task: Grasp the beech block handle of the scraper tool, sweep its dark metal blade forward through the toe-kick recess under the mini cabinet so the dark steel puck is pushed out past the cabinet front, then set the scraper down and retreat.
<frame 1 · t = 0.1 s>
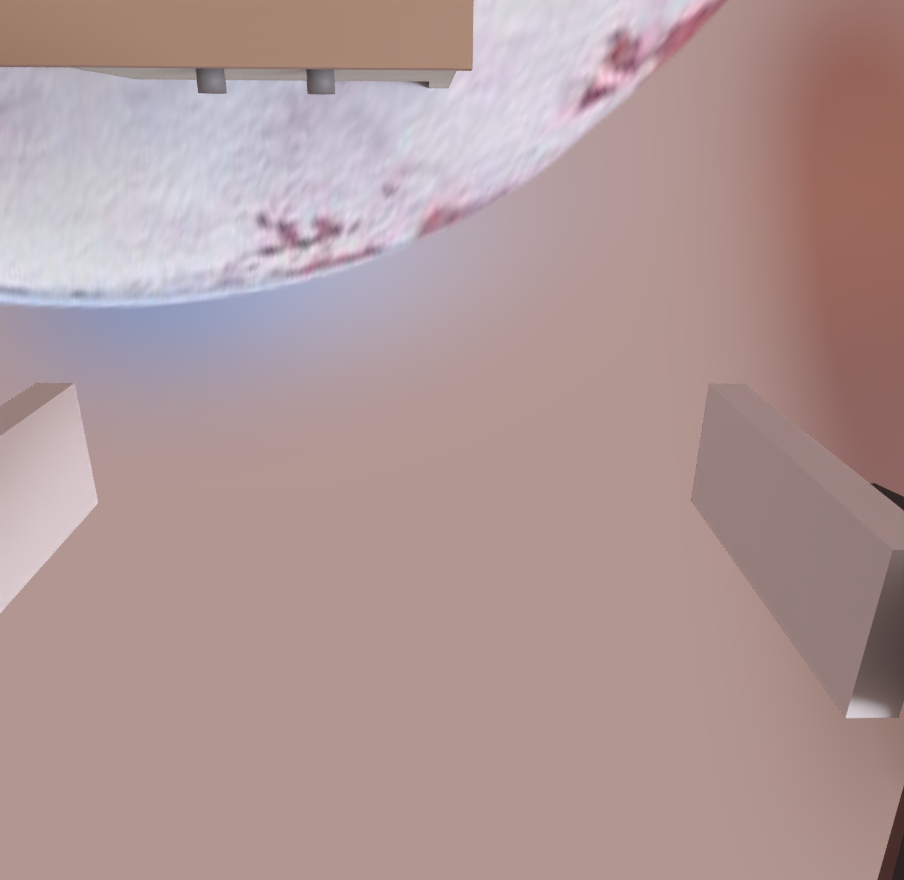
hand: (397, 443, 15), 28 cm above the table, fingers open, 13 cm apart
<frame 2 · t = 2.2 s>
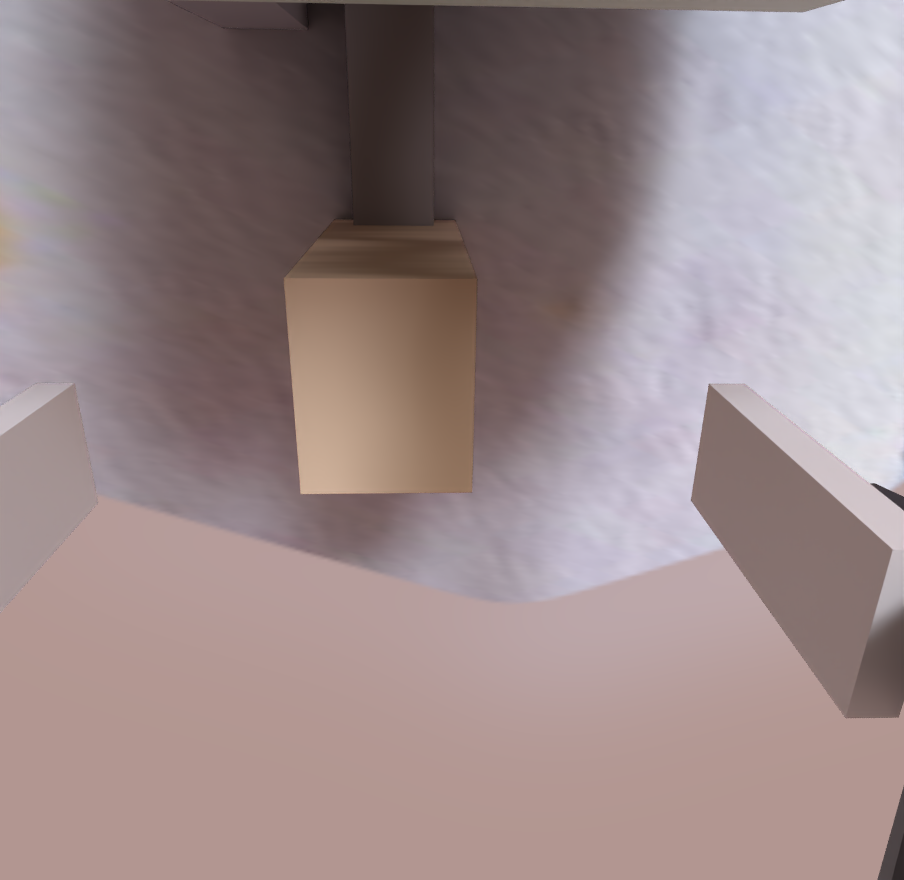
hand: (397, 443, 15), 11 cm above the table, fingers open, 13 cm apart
scraper tool: (396, 294, 25), on the table
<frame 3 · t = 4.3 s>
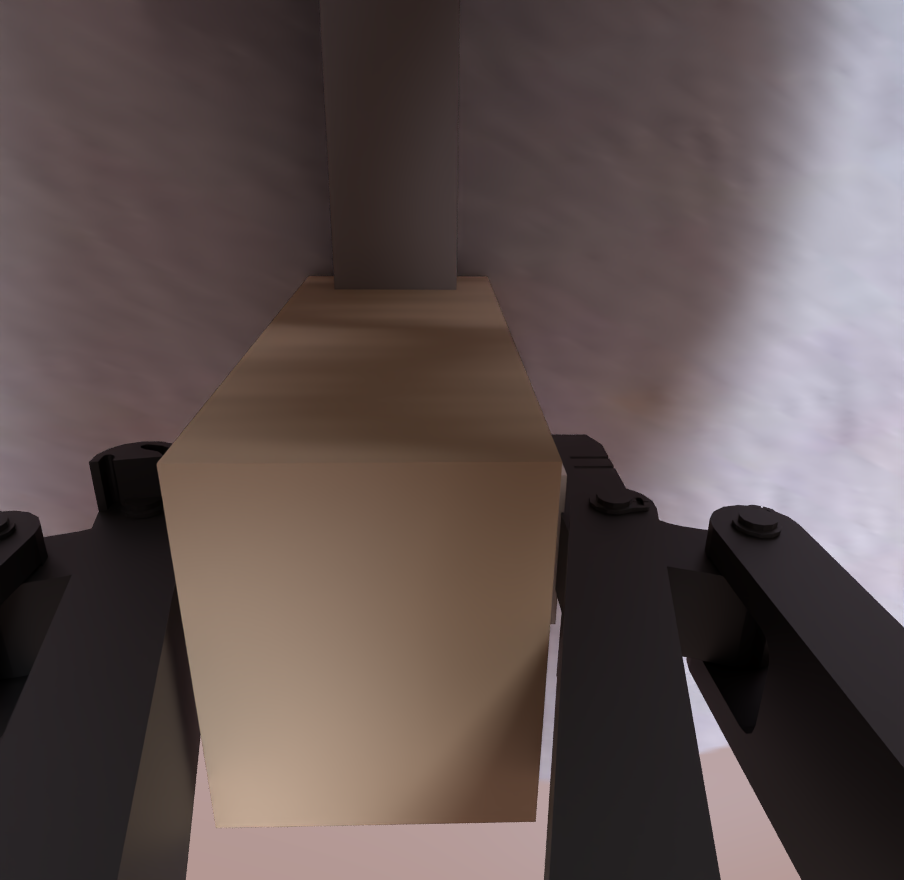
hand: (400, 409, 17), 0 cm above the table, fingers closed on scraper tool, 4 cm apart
scraper tool: (400, 382, 17), on the table, touching gripper
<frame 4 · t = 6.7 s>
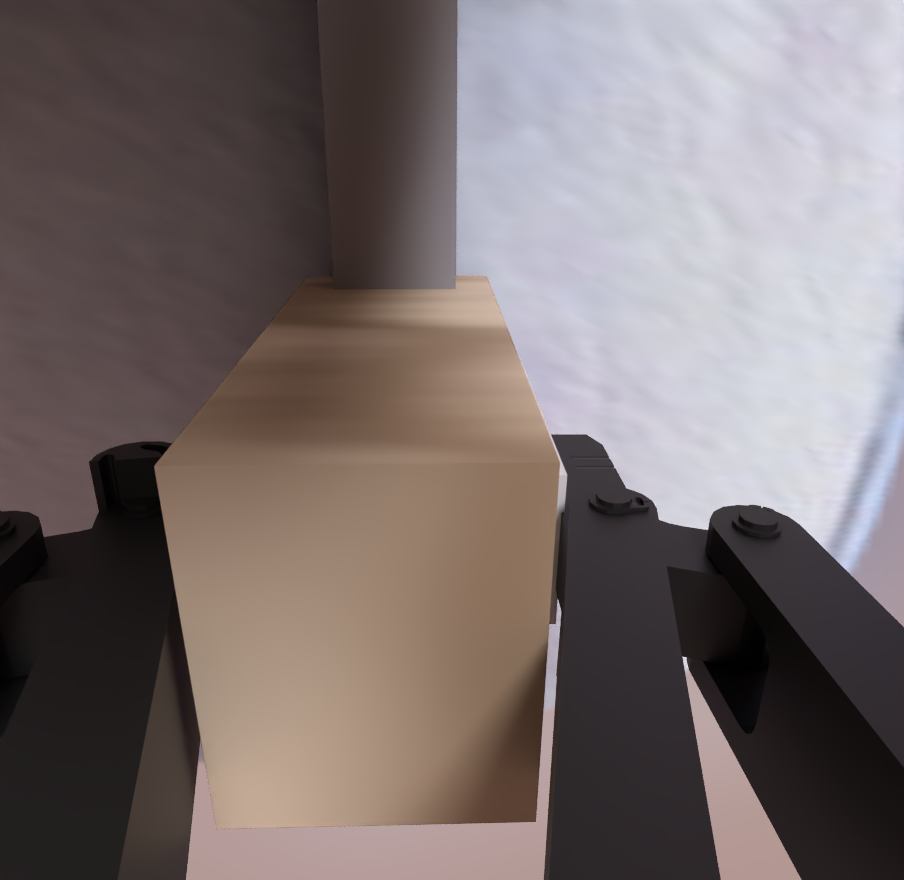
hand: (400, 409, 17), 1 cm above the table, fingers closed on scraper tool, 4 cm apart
scraper tool: (400, 381, 17), on the table, touching gripper
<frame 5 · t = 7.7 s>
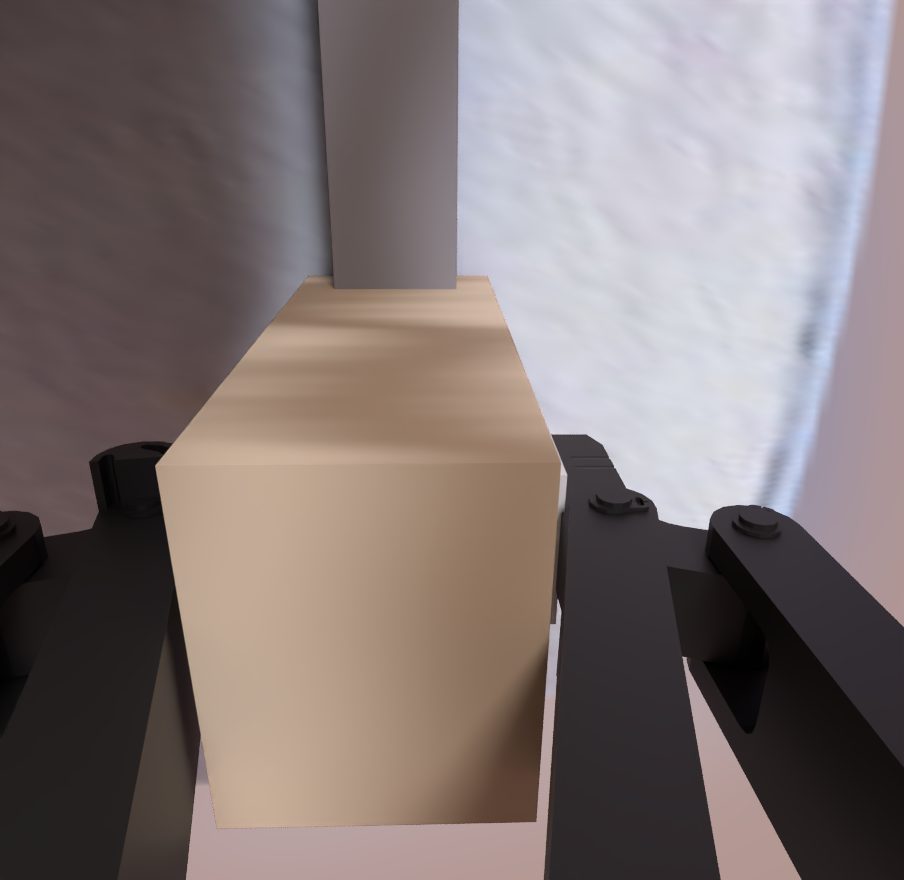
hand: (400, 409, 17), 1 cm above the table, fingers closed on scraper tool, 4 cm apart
scraper tool: (400, 381, 17), on the table, touching gripper
when the fingers open (0 cm above the table, at t = 9.0 s): scraper tool stays where it is, on the table.
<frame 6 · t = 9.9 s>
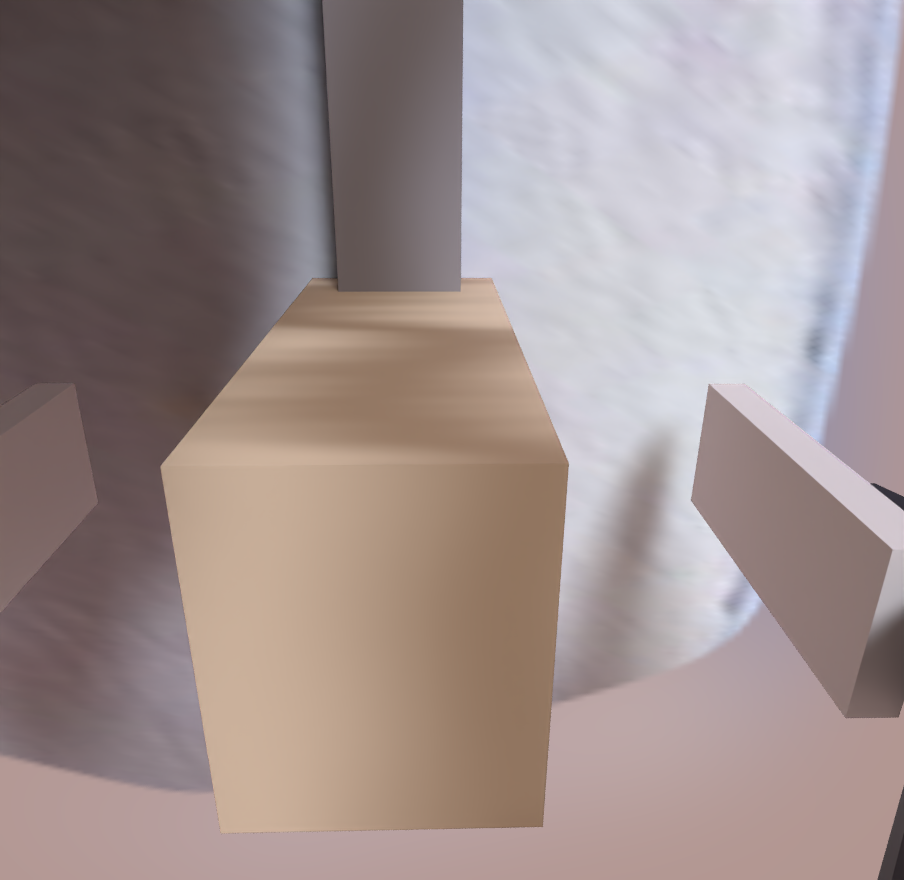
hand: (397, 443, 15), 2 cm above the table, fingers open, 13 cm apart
scraper tool: (404, 384, 17), on the table
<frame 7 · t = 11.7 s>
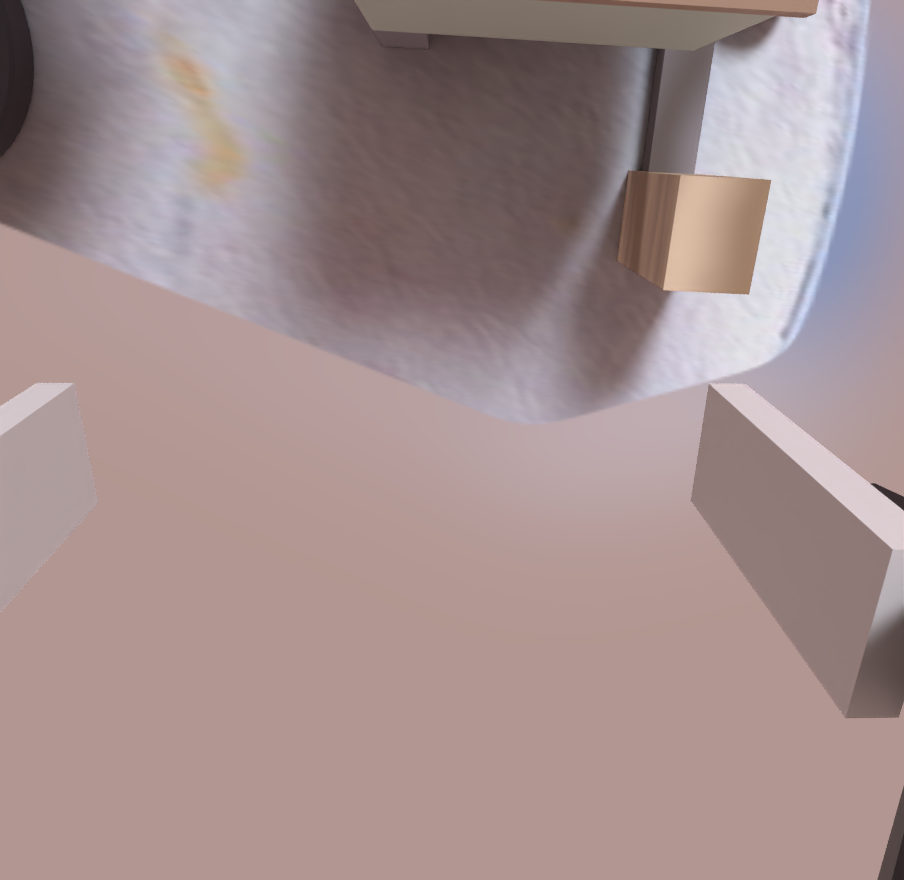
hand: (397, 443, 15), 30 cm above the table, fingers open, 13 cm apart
scraper tool: (657, 218, 42), on the table
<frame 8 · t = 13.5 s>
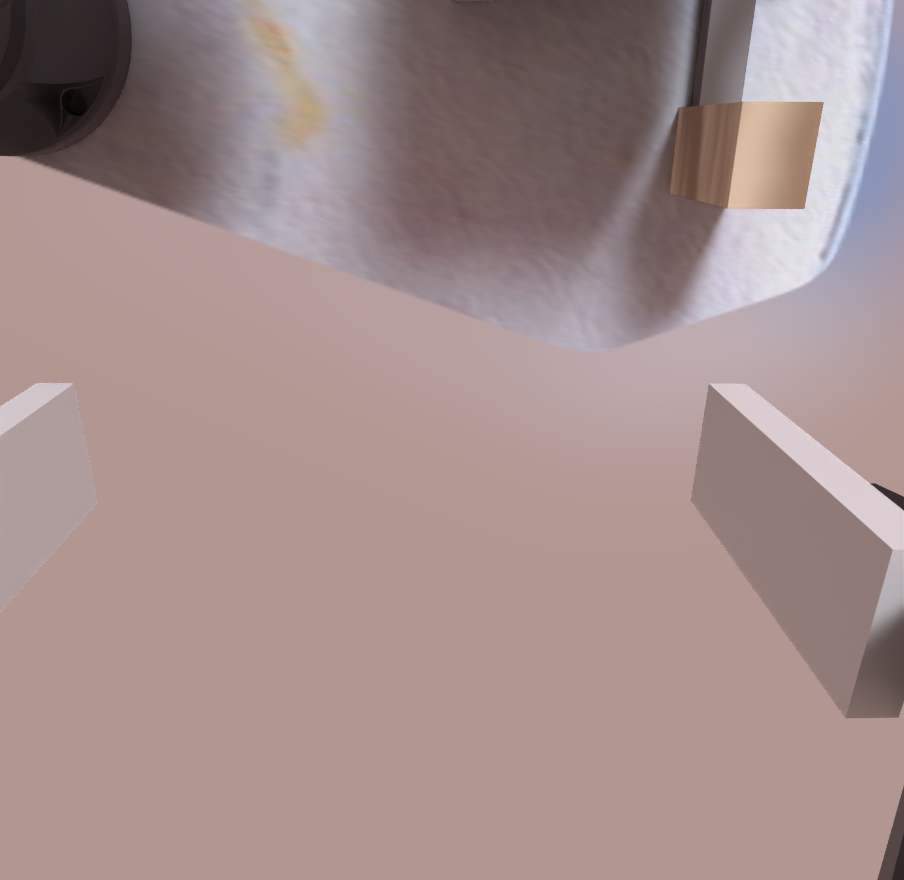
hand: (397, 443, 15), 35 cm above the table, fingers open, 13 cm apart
scraper tool: (705, 151, 46), on the table
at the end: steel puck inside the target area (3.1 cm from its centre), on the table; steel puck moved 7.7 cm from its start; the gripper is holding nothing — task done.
